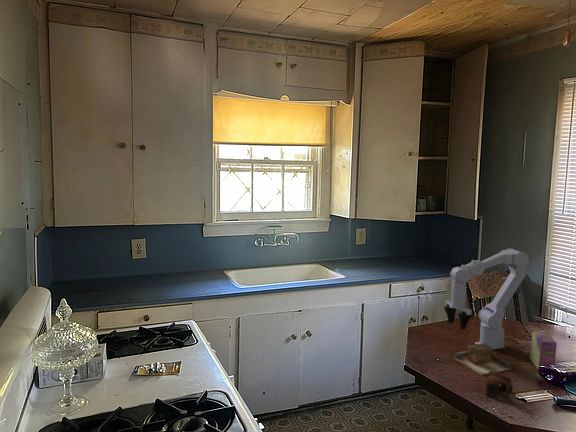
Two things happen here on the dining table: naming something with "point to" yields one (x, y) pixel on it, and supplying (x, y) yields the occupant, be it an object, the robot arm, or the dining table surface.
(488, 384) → the pottery mug
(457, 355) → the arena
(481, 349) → the walnut block
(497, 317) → the robot arm
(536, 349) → the box
